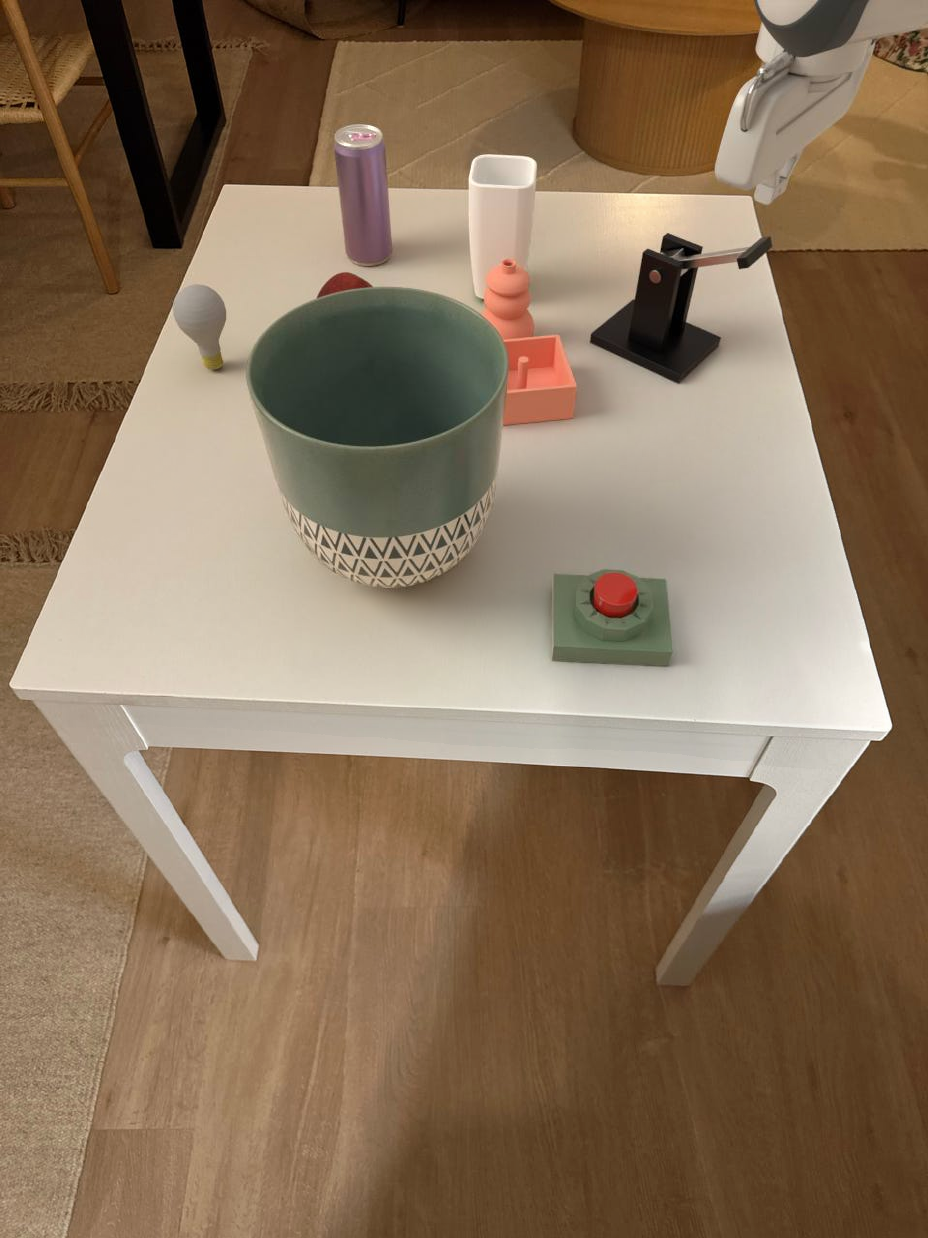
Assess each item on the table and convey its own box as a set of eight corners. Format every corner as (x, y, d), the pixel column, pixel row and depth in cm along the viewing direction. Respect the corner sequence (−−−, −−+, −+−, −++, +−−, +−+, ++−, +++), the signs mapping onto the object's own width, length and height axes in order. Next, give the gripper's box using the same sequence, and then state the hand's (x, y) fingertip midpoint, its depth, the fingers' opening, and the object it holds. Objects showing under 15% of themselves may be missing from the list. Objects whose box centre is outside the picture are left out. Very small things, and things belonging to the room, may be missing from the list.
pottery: (573, 418, 96) (582, 339, 88) (486, 426, 95) (488, 348, 88) (540, 320, 107) (546, 242, 99) (462, 327, 106) (461, 249, 98)
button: (633, 586, 77) (636, 572, 76) (635, 618, 75) (639, 606, 74) (591, 583, 78) (594, 570, 76) (592, 616, 75) (595, 603, 74)
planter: (279, 635, 79) (228, 451, 62) (300, 478, 91) (262, 287, 74) (505, 631, 79) (516, 446, 62) (495, 475, 91) (502, 284, 74)
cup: (530, 276, 113) (537, 155, 101) (526, 309, 108) (534, 188, 97) (472, 272, 113) (473, 152, 101) (466, 306, 109) (467, 184, 97)
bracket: (719, 345, 104) (744, 250, 95) (678, 383, 100) (700, 288, 90) (631, 307, 109) (647, 213, 99) (589, 342, 104) (601, 247, 95)
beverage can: (390, 268, 114) (382, 147, 102) (344, 267, 114) (330, 146, 102) (394, 243, 117) (386, 123, 106) (348, 242, 118) (335, 122, 106)
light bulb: (186, 359, 102) (163, 279, 95) (233, 348, 104) (214, 269, 96) (195, 387, 99) (171, 308, 91) (243, 376, 101) (224, 297, 93)
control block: (661, 594, 81) (669, 565, 78) (668, 666, 77) (677, 639, 73) (551, 589, 82) (555, 560, 79) (551, 661, 77) (555, 633, 74)
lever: (773, 253, 91) (769, 229, 89) (749, 274, 88) (745, 250, 87) (673, 267, 99) (668, 245, 98) (649, 287, 97) (643, 265, 95)
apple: (394, 347, 104) (389, 285, 97) (331, 365, 102) (322, 303, 95) (370, 313, 108) (364, 251, 102) (309, 330, 106) (299, 268, 100)
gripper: (791, 84, 68) (744, 255, 79) (900, 6, 77) (845, 167, 88) (717, 62, 70) (682, 230, 81) (832, -12, 80) (787, 148, 91)
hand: (768, 197), depth 85 cm, fingers closed
